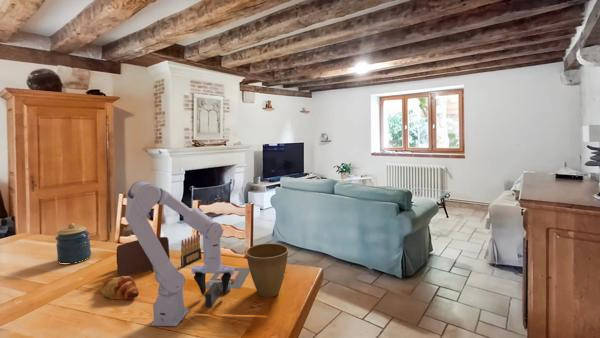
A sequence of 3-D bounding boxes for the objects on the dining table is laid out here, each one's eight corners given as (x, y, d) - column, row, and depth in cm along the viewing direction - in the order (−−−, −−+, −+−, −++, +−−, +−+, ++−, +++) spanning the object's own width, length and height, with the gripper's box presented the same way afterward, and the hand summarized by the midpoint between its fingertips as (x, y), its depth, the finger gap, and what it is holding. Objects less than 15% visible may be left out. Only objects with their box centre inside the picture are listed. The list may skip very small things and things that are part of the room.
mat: (240, 289, 117) (240, 288, 117) (203, 288, 119) (203, 287, 119) (251, 269, 135) (251, 267, 135) (219, 268, 136) (219, 267, 136)
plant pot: (296, 288, 118) (295, 246, 116) (273, 307, 105) (272, 261, 103) (264, 279, 125) (263, 240, 123) (238, 296, 112) (237, 253, 111)
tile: (234, 279, 122) (239, 271, 129) (216, 278, 122) (222, 270, 129) (234, 282, 122) (239, 274, 129) (216, 282, 123) (222, 274, 129)
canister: (96, 257, 152) (93, 221, 150) (65, 267, 141) (61, 228, 139) (83, 252, 158) (80, 218, 156) (52, 261, 148) (48, 224, 146)
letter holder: (170, 266, 140) (168, 235, 139) (118, 278, 130) (116, 244, 128) (166, 259, 149) (164, 229, 147) (117, 269, 138) (114, 238, 136)
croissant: (97, 299, 120) (84, 285, 116) (119, 277, 127) (107, 264, 123) (131, 312, 109) (119, 298, 105) (153, 288, 116) (142, 273, 112)
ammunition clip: (184, 267, 139) (182, 240, 137) (180, 266, 139) (179, 240, 138) (201, 258, 148) (200, 233, 147) (198, 257, 149) (197, 233, 148)
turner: (220, 308, 105) (219, 294, 104) (197, 308, 105) (196, 293, 105) (231, 291, 116) (230, 278, 116) (210, 290, 117) (209, 277, 117)
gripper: (236, 251, 112) (238, 288, 114) (196, 250, 113) (198, 287, 115) (230, 259, 105) (232, 298, 107) (188, 258, 106) (190, 297, 108)
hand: (214, 293), depth 110 cm, fingers open, 7 cm apart
